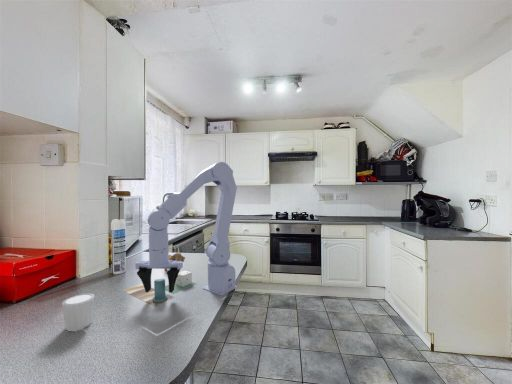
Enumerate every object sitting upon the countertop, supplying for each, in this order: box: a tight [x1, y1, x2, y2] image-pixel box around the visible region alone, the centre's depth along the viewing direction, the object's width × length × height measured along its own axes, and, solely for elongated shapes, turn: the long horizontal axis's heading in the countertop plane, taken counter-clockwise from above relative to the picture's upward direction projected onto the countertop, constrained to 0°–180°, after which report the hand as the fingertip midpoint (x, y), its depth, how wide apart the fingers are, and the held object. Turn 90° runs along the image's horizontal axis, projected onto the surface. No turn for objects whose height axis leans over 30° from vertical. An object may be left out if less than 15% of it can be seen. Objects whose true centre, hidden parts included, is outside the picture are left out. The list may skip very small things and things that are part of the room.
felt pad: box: [165, 281, 197, 295], centre depth 86 cm, size 8×10×1 cm
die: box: [176, 270, 193, 287], centre depth 88 cm, size 4×4×4 cm
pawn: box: [153, 278, 168, 303], centre depth 76 cm, size 4×4×6 cm
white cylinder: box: [61, 293, 96, 332], centre depth 62 cm, size 7×7×7 cm
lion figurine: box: [164, 252, 186, 272], centre depth 102 cm, size 15×5×9 cm, turn 50°
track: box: [121, 283, 175, 307], centre depth 80 cm, size 20×7×1 cm, turn 54°
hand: (159, 291), depth 76 cm, fingers open, 7 cm apart
